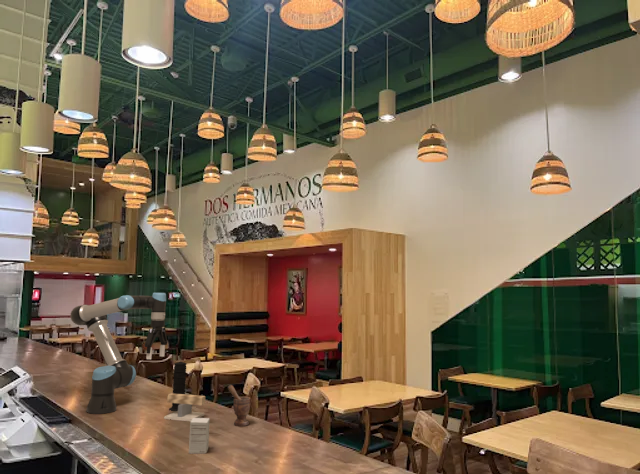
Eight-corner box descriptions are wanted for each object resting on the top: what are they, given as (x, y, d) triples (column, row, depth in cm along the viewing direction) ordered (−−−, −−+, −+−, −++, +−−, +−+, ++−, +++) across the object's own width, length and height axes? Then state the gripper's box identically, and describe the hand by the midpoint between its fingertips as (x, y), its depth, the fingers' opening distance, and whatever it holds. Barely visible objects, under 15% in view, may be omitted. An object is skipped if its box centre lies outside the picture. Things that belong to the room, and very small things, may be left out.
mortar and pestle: (233, 428, 244) (234, 386, 246) (223, 425, 250) (225, 384, 252) (252, 425, 251) (254, 384, 254) (243, 421, 258) (245, 382, 260)
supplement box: (191, 448, 212) (192, 417, 213) (208, 448, 212) (210, 417, 214) (187, 453, 204) (189, 422, 206) (206, 453, 205) (207, 422, 206)
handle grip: (165, 410, 277) (181, 411, 275) (168, 362, 280) (184, 363, 278) (174, 406, 287) (190, 407, 285) (176, 360, 290) (192, 360, 288)
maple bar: (167, 402, 265) (167, 394, 266) (171, 400, 269) (171, 393, 270) (201, 405, 261) (201, 397, 261) (204, 403, 264) (205, 396, 265)
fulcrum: (164, 418, 259) (164, 404, 260) (177, 412, 272) (178, 399, 273) (192, 421, 255) (192, 407, 256) (204, 415, 269) (204, 401, 270)
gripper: (151, 321, 270) (149, 360, 267) (174, 319, 294) (172, 355, 292) (139, 320, 272) (136, 360, 269) (163, 318, 296) (161, 355, 293)
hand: (155, 357), depth 280 cm, fingers open, 13 cm apart
